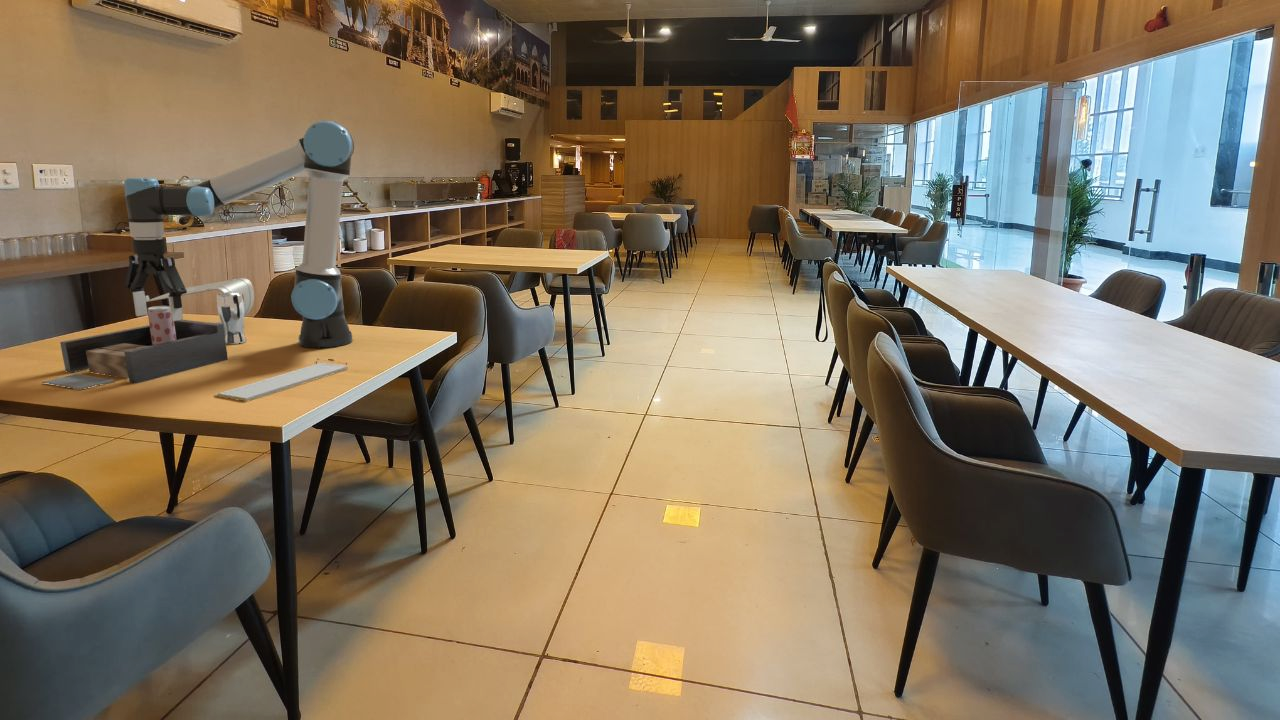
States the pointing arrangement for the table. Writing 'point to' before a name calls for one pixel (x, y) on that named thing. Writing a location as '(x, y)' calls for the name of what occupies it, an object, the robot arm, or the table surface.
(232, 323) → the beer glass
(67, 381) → the mat
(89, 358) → the offcut slab
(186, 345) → the tray
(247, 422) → the table surface
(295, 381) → the baseboard molding
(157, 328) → the beverage can
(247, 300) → the portable electronic device stand
